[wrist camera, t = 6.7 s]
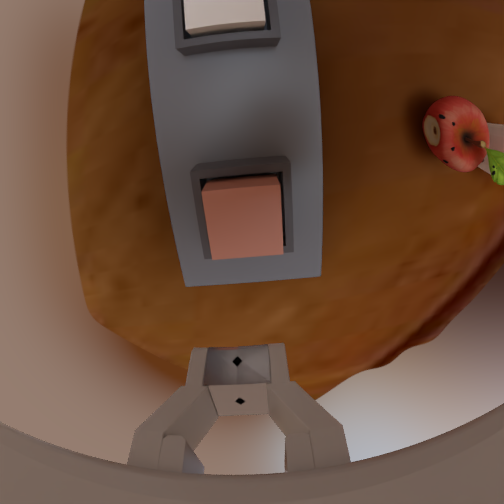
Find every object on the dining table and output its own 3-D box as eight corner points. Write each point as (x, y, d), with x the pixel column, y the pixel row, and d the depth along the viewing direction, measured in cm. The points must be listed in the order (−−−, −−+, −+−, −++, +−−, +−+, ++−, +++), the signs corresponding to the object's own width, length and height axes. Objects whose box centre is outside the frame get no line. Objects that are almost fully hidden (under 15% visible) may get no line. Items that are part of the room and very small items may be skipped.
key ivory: (190, -13, 14) (182, -28, 11) (257, -21, 14) (258, -37, 11) (193, 39, 16) (185, 29, 14) (263, 32, 16) (265, 20, 13)
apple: (397, 139, 24) (461, 161, 15) (420, 82, 21) (488, 83, 12) (447, 173, 25) (509, 206, 16) (468, 121, 22) (533, 139, 13)
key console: (153, -30, 15) (133, -56, 10) (293, -45, 15) (304, -75, 9) (190, 270, 30) (180, 306, 25) (314, 260, 30) (328, 294, 24)
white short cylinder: (494, 179, 25) (531, 199, 19) (460, 165, 24) (501, 184, 18) (503, 128, 22) (543, 140, 16) (470, 109, 21) (513, 117, 15)
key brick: (207, 180, 21) (201, 191, 18) (275, 174, 20) (280, 184, 18) (216, 241, 23) (212, 259, 20) (279, 236, 23) (283, 254, 20)
